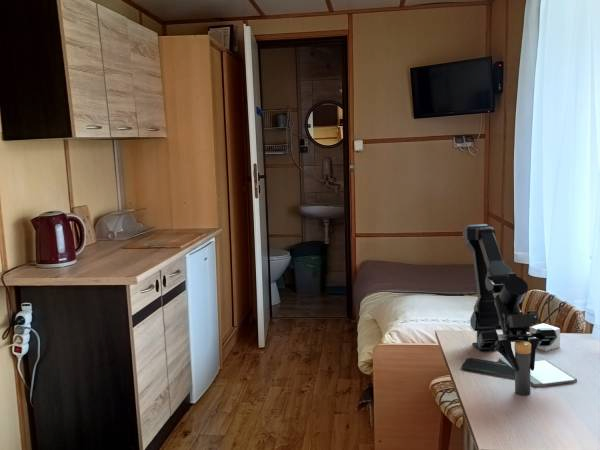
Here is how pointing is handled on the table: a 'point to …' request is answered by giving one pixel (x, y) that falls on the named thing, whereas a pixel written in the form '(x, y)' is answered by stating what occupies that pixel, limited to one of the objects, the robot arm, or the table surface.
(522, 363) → the grey cylinder
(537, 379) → the writing board
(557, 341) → the white cube
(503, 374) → the phone
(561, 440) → the table surface
